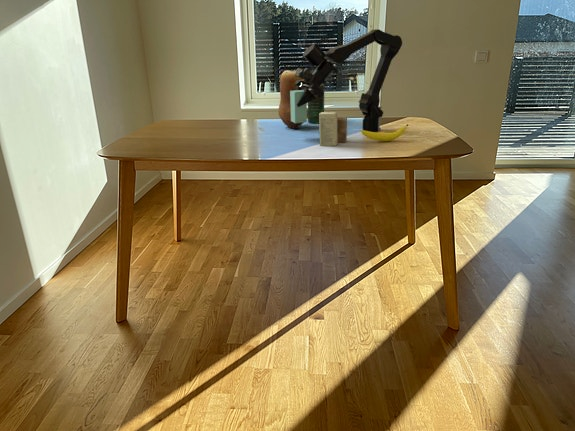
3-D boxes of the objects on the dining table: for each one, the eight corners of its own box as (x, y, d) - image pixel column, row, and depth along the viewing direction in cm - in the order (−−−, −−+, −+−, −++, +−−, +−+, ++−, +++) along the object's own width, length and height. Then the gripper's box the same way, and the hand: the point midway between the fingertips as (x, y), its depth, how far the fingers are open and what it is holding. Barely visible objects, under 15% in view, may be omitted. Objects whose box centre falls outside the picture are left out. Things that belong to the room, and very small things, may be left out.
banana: (358, 142, 165) (359, 125, 162) (405, 139, 166) (406, 123, 164) (360, 143, 162) (361, 127, 160) (408, 141, 164) (409, 125, 161)
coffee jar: (322, 124, 200) (323, 83, 192) (306, 123, 201) (306, 83, 194) (325, 120, 208) (325, 81, 201) (309, 120, 210) (309, 81, 203)
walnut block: (346, 140, 168) (347, 117, 164) (345, 143, 164) (346, 120, 160) (335, 140, 169) (335, 117, 165) (333, 142, 165) (334, 119, 161)
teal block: (302, 119, 174) (301, 90, 169) (306, 122, 170) (306, 91, 165) (290, 121, 172) (290, 90, 168) (295, 123, 168) (294, 92, 163)
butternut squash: (313, 127, 193) (313, 70, 183) (289, 131, 186) (288, 72, 176) (296, 123, 203) (295, 68, 193) (272, 127, 196) (270, 70, 187)
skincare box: (337, 143, 163) (338, 111, 158) (335, 146, 159) (335, 113, 154) (321, 142, 165) (321, 111, 160) (318, 145, 161) (318, 113, 156)
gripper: (298, 59, 171) (273, 89, 172) (316, 61, 155) (289, 94, 156) (316, 78, 176) (292, 107, 178) (335, 82, 160) (309, 113, 161)
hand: (295, 105), depth 168 cm, fingers closed on teal block, 5 cm apart
